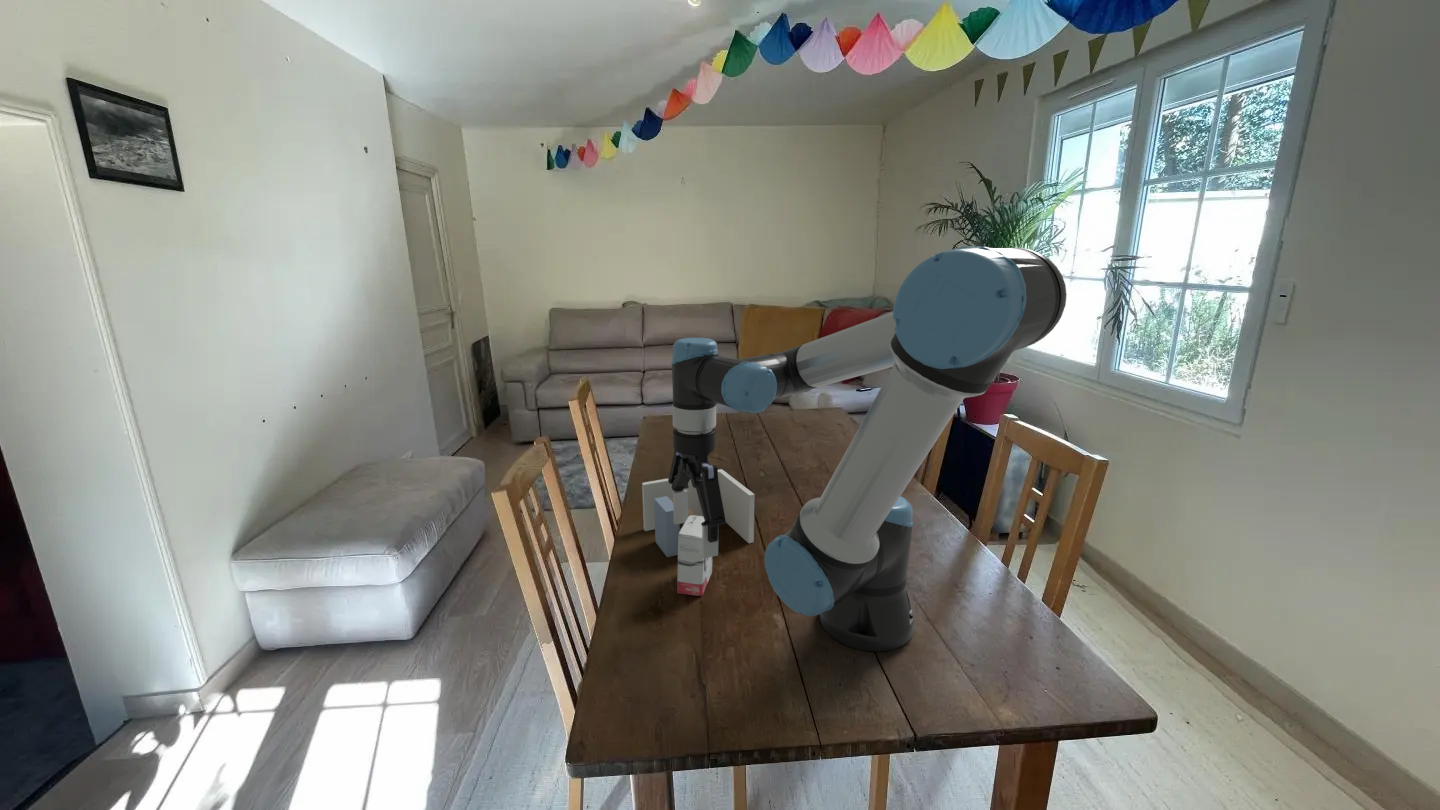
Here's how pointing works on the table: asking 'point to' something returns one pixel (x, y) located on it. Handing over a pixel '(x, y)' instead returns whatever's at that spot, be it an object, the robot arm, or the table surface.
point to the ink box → (692, 559)
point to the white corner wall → (695, 510)
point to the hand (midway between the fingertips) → (694, 538)
